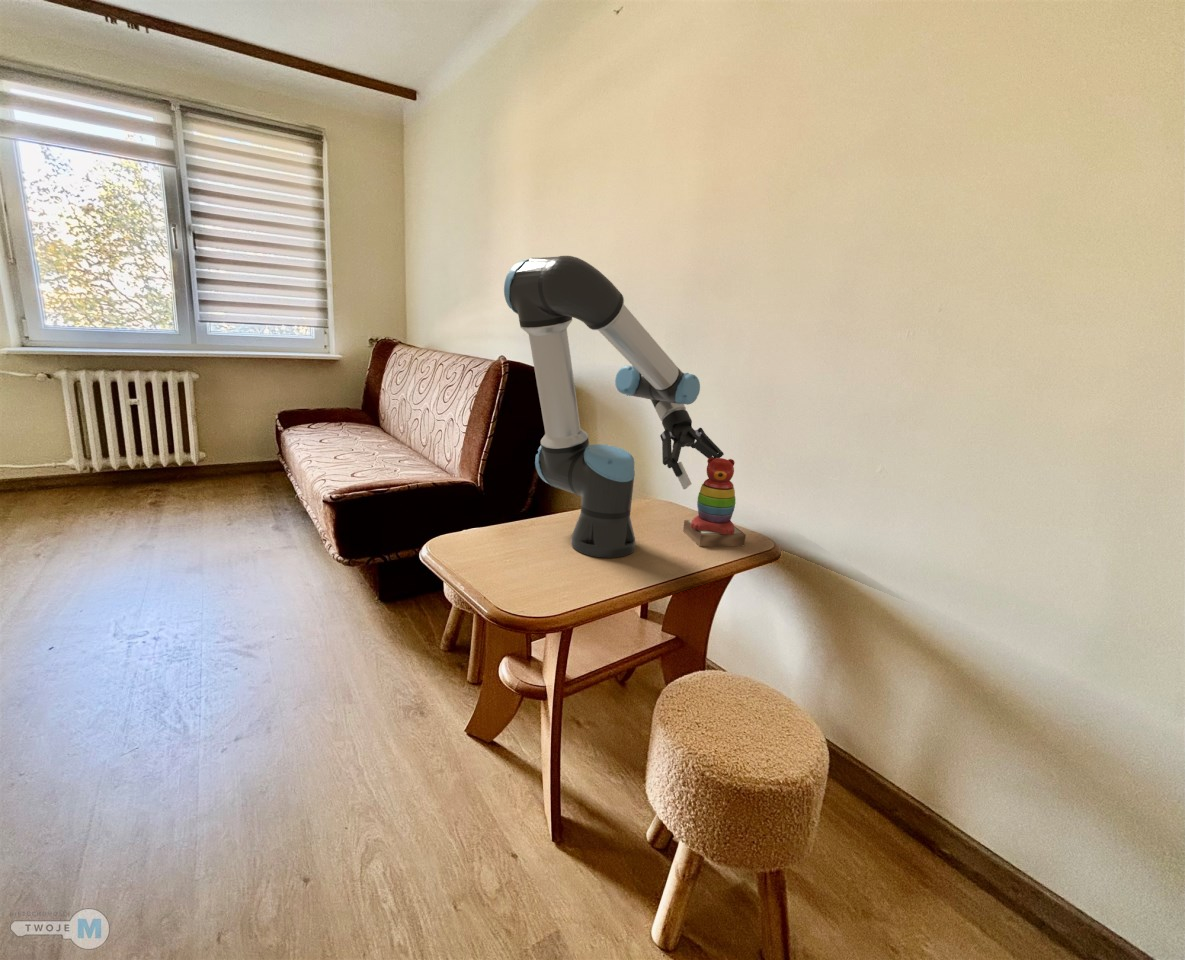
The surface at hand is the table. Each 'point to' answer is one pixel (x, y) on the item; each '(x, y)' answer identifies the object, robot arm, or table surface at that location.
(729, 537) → the grey flat block
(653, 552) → the table surface
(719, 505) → the stacking bear
